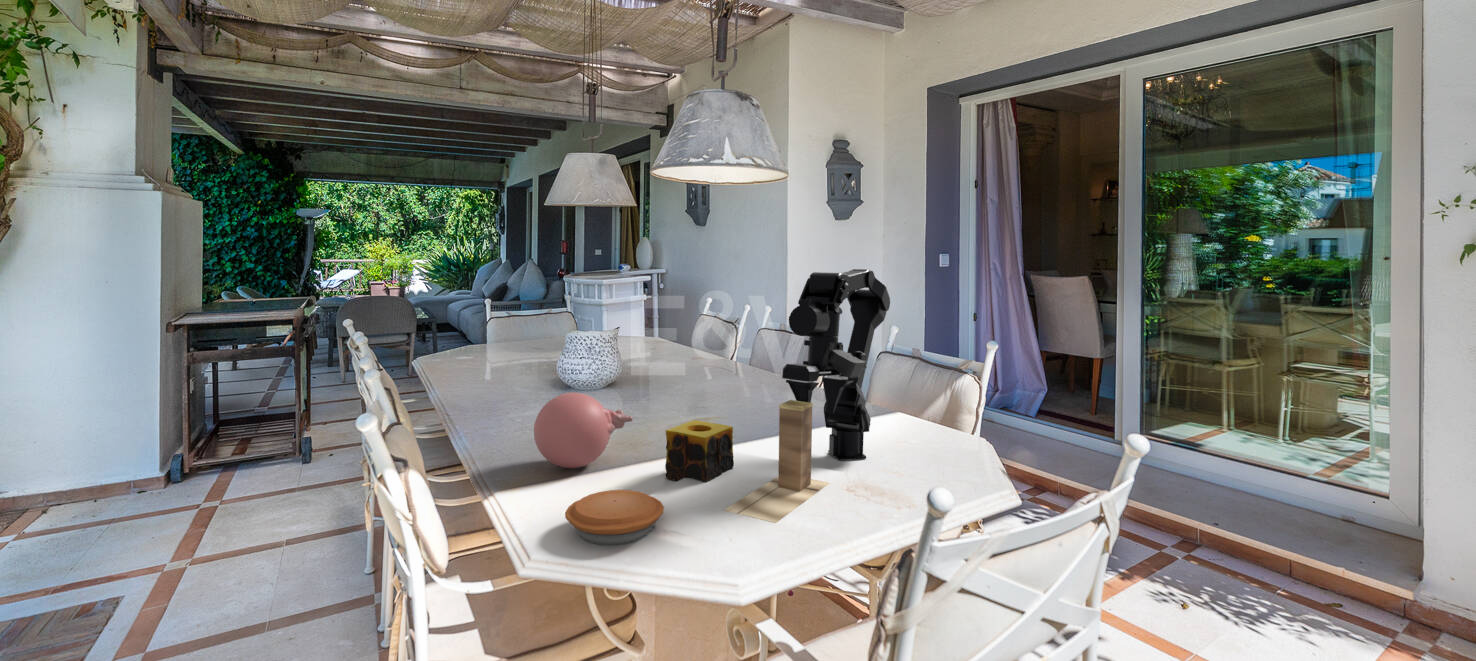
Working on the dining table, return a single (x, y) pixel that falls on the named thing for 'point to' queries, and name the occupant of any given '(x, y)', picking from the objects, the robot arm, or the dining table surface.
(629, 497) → the pie
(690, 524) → the dining table surface
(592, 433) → the balloon
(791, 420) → the tall wooden pillar
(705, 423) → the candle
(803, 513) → the dining table surface
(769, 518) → the board
